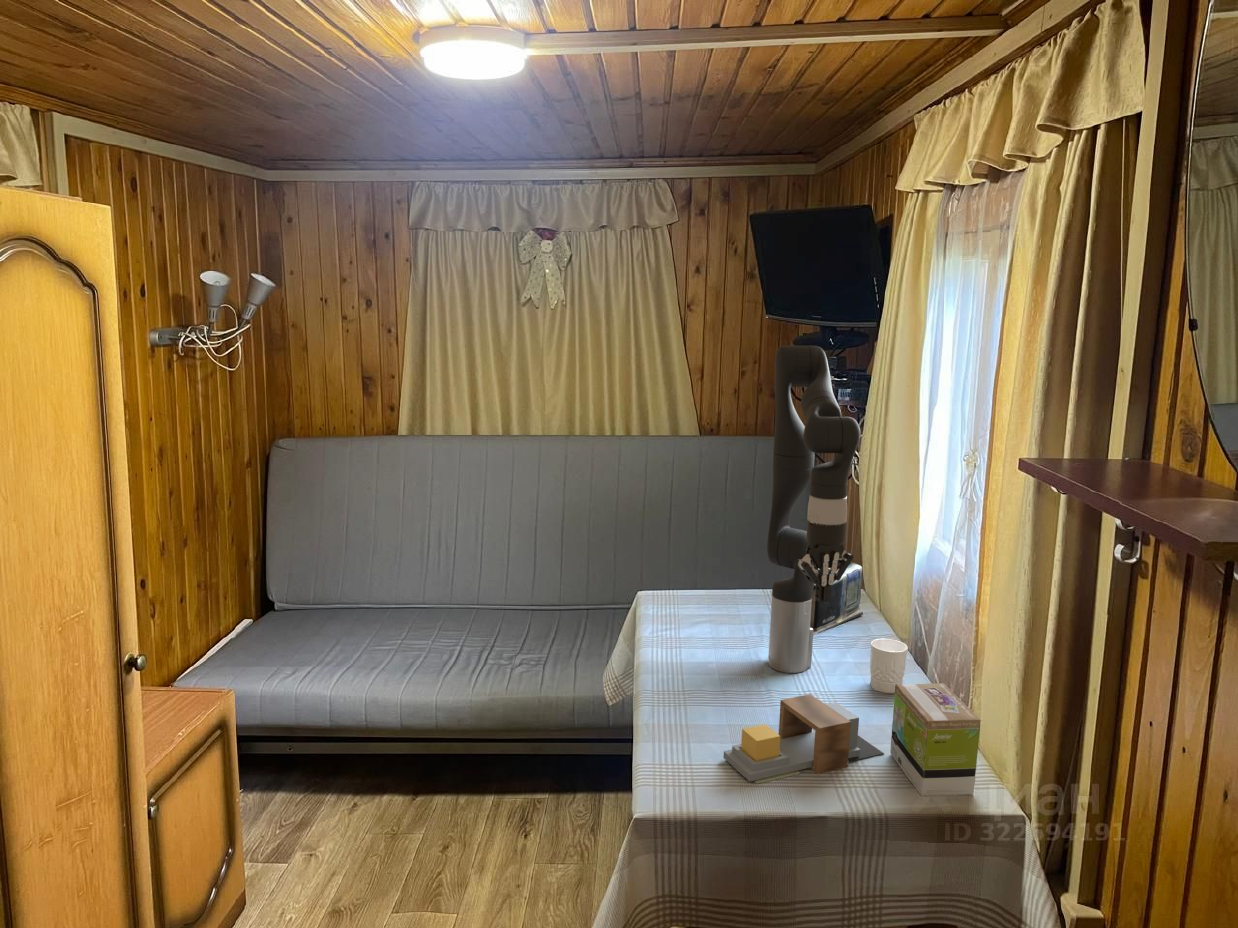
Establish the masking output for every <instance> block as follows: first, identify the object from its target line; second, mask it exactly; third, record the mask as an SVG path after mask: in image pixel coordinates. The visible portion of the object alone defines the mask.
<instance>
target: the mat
mask: <svg viewBox="0 0 1238 928" xmlns="http://www.w3.org/2000/svg"><path fill="white" fill-rule="evenodd" d="M797 775H800V773H799V772H798V770H796V771H792V772H788V773H784V774H779V775H775V776H771V777H766V778H762V779H758V780H753V781H754V783H756V785H759V784H763V783H767V782H772V781H776V780H779V779H784V778H788V777H792V776H797Z"/></svg>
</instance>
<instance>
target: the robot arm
mask: <svg viewBox="0 0 1238 928" xmlns="http://www.w3.org/2000/svg"><path fill="white" fill-rule="evenodd" d="M828 363H829V362H828V358H827V355H826V352H825V350H824V349H823V347H820V346H818V345H781V346H779V347H778V348H777V349H776V352H775V356H774V397H775V400H774V401H775V402H774V403H775V404H774V405H775V409H774V410H775V416H774V417H775V422H774V438H773V451H772V452H773V456H772V457H773V458H772V493H771V495H772V496H771V508H770V517H769V525H768V532H767V540H766V541H767V544H766V553H767V558H768V560H769V562H771V564H773V565H776V566H779V567H783V568H787V569H792V570H793V571H794V572H793V576H792V577H787V578H781V579H779V580H778V579H777V580H776V581H774V582H773V584H772V587H771V589H772V590H771V604H770V607H771V608H770V622H769V624H770V625H769V643H768V657H767V659H768V660H767V664H768V666H769V667H770V668H772V669H773V670H775V671H777V672H780V673H782V672H783V673H787V674H794V673H802V672H805V671H806V670H807V669H809V668H812V657H813V641H814V635H813V628H811V627H810V621H811V605H812V592H813V588H814V584H816V589H815V598H816V599H817V601H818V602H820V603H822V604H823V603H828V602H829V599H830V598H831V586H832V584H833V582H834V581H836V580H837V581H838V580H840V579H841V577H842V575H843V574H844V572H845V571H846V569H847V567H848V566H849V564H850V563H851V562H853V559H854V555H853V554H852V553H849V552H847V551H846V550H845V549H846V548H845V547H846V546H845V545H844V544H845V542H846V540H847V525H848V523H847V521H848V502H847V501H848V483H849V474H850V471H851V467H852V462H853V460H854V457H855V454H856V451H857V449H858V446H859V444H860V439H861V428H860V425H859V423H858V421H857V420H856V419H855V418H854V417H850V416H842V411H841V407H840V405H839V404H838V401H837V399H836V397H835V394H834V392H833V387H832V378H831V373H830V368H829V364H828ZM791 388H805V390H804V391H803V393H802V395H801V399H800V407H801V411H802V415H803V416H804V419H805V424H804V423H803V422H802V420H801V418H800V417H799V415H798V414H799V413H797V411H796V408H795V406H794V403H793V400H792V395H791ZM815 454H836V456H835V457H834V459H833V460H831V461H829V462H823V463H820V464H817V465H815ZM809 484H810V485H809ZM808 485H809V487H810V488H809V500H808V504H807V519H806V530H804V529H798V528H794V527H791V526H790V525H791V516H792V512H793V508H794V506H795V504H796V502H797V500H799V498H800V496H801V495H802V493H803V492H804V491H805V490H806V489H807V487H808ZM838 569H839V570H838ZM837 570H838V572H837ZM836 572H837V573H836Z"/></svg>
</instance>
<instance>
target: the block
mask: <svg viewBox="0 0 1238 928" xmlns="http://www.w3.org/2000/svg"><path fill="white" fill-rule="evenodd" d="M740 744H741V750H742V751H743V752H744V753H746V754H747V755H748V756H749V757H750V758H751V759H752V760H753V761H755V762H757V761H762V760H766V759H771V758H775V757H779V749H780V736H779V733H777V732H776V731H774V730H773V729H772V728H771V727H769V726H768V725H767V724H765V723H763V724H758V725H754V726H748V727H744V728H742V729H741V743H740Z"/></svg>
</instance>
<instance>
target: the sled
mask: <svg viewBox="0 0 1238 928" xmlns="http://www.w3.org/2000/svg"><path fill="white" fill-rule="evenodd" d="M825 704H826V705H827V706H829V707H830V708H832V709H833V710H835V711H836V712H838V713H839V714H840V715H842V716H843V717H845V718H846V719H848V720H849V721H851V728H850V742H849V755H848V758H852V757H857V756H860V749H859V748H858V747H857V740H858V736H859V726H860V725H859V724H860V723H859V722H860V717H859V716H857V715H856V714H854V713H853V712H852V711H850V710H849V709H847V708H846V707H844V706H842V705H841V704H840V703H838V702H837V701H835V702H830V703H825ZM814 743H815V731H812V732H811V733H807V734H802V735H797V736H793V737H788V738H783V739H780V749H779V757H775V758H771V759H766V760H762V761H757V762H755V761H753V760H752V759H751V758H750V757H749V756H748V755H747V754H746V753H744V752H743V751H742V750H741V743H739V744H736V745H731V746H732V747H731V749H728V750H724V751H723V756H722V757H723V759H724V760H725V761H727V762H728V763H729V764H730V765H731V766H732V767H733V768H734V769H735V770H736V771H737V772H739V774H741V775H742V776H743V777H744V778H745V779H746V780H747V781H748V782H752V781H753V780H758V779H762V778H766V777H771V776H775V775H779V774H784V773H788V772H792V771H800V770H805V769H809V768H813V758H814Z"/></svg>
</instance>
